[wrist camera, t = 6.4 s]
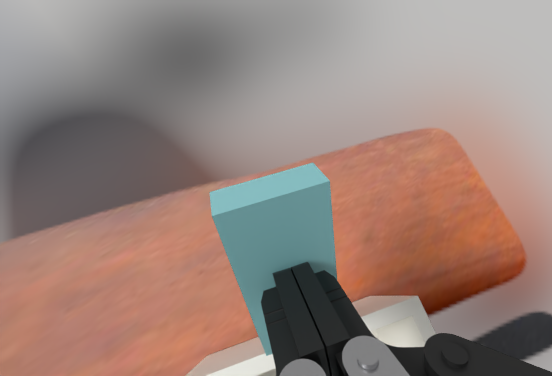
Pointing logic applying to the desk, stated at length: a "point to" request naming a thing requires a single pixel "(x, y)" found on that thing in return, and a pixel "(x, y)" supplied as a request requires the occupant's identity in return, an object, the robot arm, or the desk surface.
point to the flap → (275, 231)
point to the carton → (373, 310)
